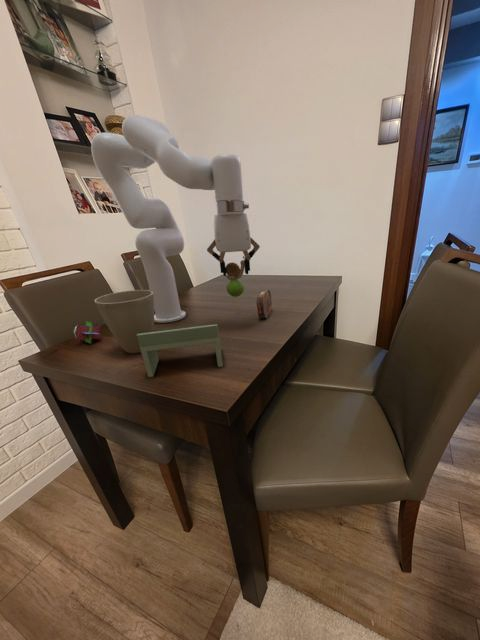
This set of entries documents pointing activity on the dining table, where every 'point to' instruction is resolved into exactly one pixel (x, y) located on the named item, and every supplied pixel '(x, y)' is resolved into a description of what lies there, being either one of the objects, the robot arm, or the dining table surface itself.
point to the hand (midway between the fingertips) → (235, 273)
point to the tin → (264, 304)
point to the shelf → (176, 343)
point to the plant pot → (128, 316)
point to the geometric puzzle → (87, 332)
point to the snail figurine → (235, 278)
